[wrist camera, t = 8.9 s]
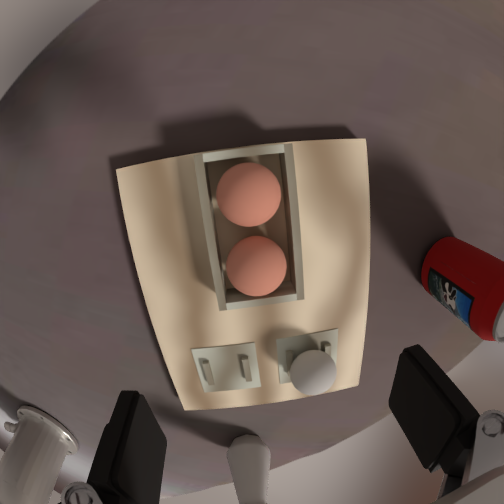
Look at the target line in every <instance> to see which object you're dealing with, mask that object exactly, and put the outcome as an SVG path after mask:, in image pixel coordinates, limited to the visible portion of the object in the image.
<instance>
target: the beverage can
mask: <svg viewBox="0 0 504 504" xmlns="http://www.w3.org/2000/svg"><path fill="white" fill-rule="evenodd" d="M421 279H422V284H423V286H424V288H425V290H426V291H427V292H428V293H429V294H430V295H432V296H433V297H434V298H435V299H436V300H437V301H439V302H440V303H441V304H442V305H443V306H444V307H446V308H447V309H448V310H449V311H450V312H451V313H453V314H454V315H455V316H456V317H457V318H458V319H460V320H461V321H462V322H463V323H464V324H465V325H467V326H468V327H469V328H470V329H471V330H472V331H473V332H475V333H476V334H477V335H478V336H479V337H480V338H481V339H483V340H488V341H497V342H498V343H503V342H504V262H503V261H501V260H500V259H498V258H496V257H494V256H492V255H490V254H488V253H486V252H484V251H482V250H480V249H478V248H476V247H474V246H472V245H470V244H468V243H466V242H464V241H461V240H459V239H457V238H455V237H445V238H442V239H440V240H439V241H437V242H436V243H435V244H434V245H433V246H432V247H431V249H430V250H429V252H428V253H427V255H426V257H425V260H424V262H423V266H422V272H421Z"/></svg>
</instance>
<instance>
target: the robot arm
mask: <svg viewBox="0 0 504 504" xmlns="http://www.w3.org/2000/svg"><path fill="white" fill-rule="evenodd" d="M389 407H390V409H391V411H392V413H393V414H394V416H395V418H396V419H397V421H398V423H399V425H400V426H401V428H402V430H403V432H404V433H405V435H406V437H407V439H408V440H409V442H410V444H411V446H412V447H413V449H414V451H415V453H416V455H417V456H418V458H419V460H420V462H421V463H422V465H423V467H424V468H425V469H429V471H430V473H432V472H434V471H436V470H438V469H440V468H442V469H443V471H444V473H445V474H444V477H443V481H442V484H441V488H440V491H439V494H438V497H437V500H436V501H434V502H432V503H430V504H504V413H502V412H501V411H498V410H488V411H486V412H484V413H483V414H481V416H480V415H479V413H478V412H477V410H476V409H475V408H474V407H473V406H472V404H471V403H470V402H469V401H468V399H467V398H466V397H465V396H464V395H463V394H462V392H461V391H460V390H459V389H458V388H457V386H456V385H455V384H454V383H453V382H452V381H451V379H450V378H449V377H448V376H447V375H446V374H445V373H444V371H443V370H442V369H441V368H440V367H439V366H438V365H437V363H436V362H435V361H434V360H433V359H432V358H431V357H430V356H429V354H428V353H427V352H426V351H425V350H424V349H423V348H422V347H421V346H420V345H418V344H417V345H414V346H411V347H408V348H405V349H404V350H403V353H401V354H400V356H399V361H398V365H397V370H396V374H395V378H394V382H393V386H392V390H391V394H390V397H389ZM17 417H18V419H19V422H18V423H16V424H13V423H10V422H5V423H4V427H5V429H6V430H7V431H9V432H12V433H14V436H13V437H12V439H11V441H10V443H9V445H8V447H7V449H6V451H5V453H4V455H3V456H2V458H1V460H0V504H48V503H49V500H50V497H51V494H52V491H53V488H54V485H55V483H56V480H57V477H58V475H59V472H60V469H61V467H62V464H63V462H64V459H65V457H66V455H73V454H76V453H77V450H78V447H79V446H78V443H77V441H76V439H75V438H74V436H73V435H72V434H71V433H70V432H69V431H68V430H67V429H66V428H65V427H64V426H63V425H62V424H60V423H59V422H58V421H56V420H55V419H54V418H52V417H51V416H49V415H48V414H46V413H44V412H42V411H40V410H38V409H36V408H34V407H31V406H21V407H20V408H19V409H18V411H17ZM166 447H167V440H166V437H165V435H164V433H163V431H162V430H161V428H160V426H159V424H158V422H157V420H156V419H155V417H154V415H153V413H152V411H151V409H150V407H149V405H148V403H147V401H146V399H145V397H144V396H143V395H142V394H139V392H138V391H121V393H120V395H119V397H118V400H117V403H116V405H115V408H114V411H113V414H112V416H111V419H110V422H109V423H108V424H107V425H106V426H105V428H104V431H103V433H102V436H101V439H100V442H99V445H98V448H97V451H96V454H95V457H94V460H93V463H92V466H91V470H90V473H89V476H88V479H87V483H84V482H73V483H70V484H69V485H67V486H66V487H65V488H64V489H63V491H62V494H61V502H60V503H58V504H159V499H160V491H161V483H162V475H163V468H164V461H165V454H166Z"/></svg>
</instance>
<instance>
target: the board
mask: <svg viewBox="0 0 504 504" xmlns="http://www.w3.org/2000/svg"><path fill="white" fill-rule="evenodd" d="M248 162H250V163H257V164H260V165H262V166H264V167H266V168H268V169H269V170H270V171H271V172H272V173H273V174H274V175H275V177H276V178H277V180H278V182H279V185H280V189H281V200H280V204H279V207H278V209H277V211H276V212H275V214H274V215H273V216H272V217H271V218H270V219H269V220H268V221H266V222H265V223H263V224H260V225H257V226H252V227H245V226H240V225H237V224H235V223H233V222H231V221H230V220H228V219H227V218H226V217H225V216H224V215H223V214H222V212H221V211H220V209H219V206H218V204H217V198H216V190H217V186H218V183H219V181H220V179H221V177H222V176H223V174H224V173H225V172H226V171H227V170H228V169H230V168H231V167H233V166H235V165H237V164H240V163H248ZM116 173H117V179H118V185H119V191H120V197H121V202H122V207H123V212H124V217H125V222H126V227H127V232H128V236H129V241H130V245H131V249H132V253H133V257H134V261H135V265H136V269H137V273H138V277H139V280H140V284H141V288H142V291H143V295H144V298H145V302H146V305H147V308H148V312H149V315H150V318H151V321H152V324H153V327H154V330H155V333H156V336H157V339H158V342H159V345H160V348H161V351H162V354H163V357H164V359H165V362H166V365H167V367H168V370H169V373H170V375H171V378H172V380H173V383H174V386H175V388H176V391H177V393H178V395H179V398H180V400H181V403H182V405H183V407H184V410H204V409H219V408H231V407H242V406H251V405H259V404H267V403H274V402H280V401H287V400H293V399H298V398H304V397H309V396H314V395H306V394H303V393H301V392H300V391H298V390H297V389H296V388H295V387H294V385H293V384H292V382H291V379H290V368H291V365H292V363H293V361H294V360H295V359H296V358H297V356H299V355H300V354H301V353H303V352H306V351H309V350H320V351H323V352H325V353H327V354H328V355H330V356H331V358H332V359H333V360H334V362H335V364H336V368H337V375H336V379H335V381H334V383H333V385H332V386H331V387H330V388H329V389H328V390H327V391H325V392H324V393H328V392H333V391H337V390H342V389H346V388H350V387H354V386H358V384H359V377H360V370H361V363H362V355H363V347H364V338H365V329H366V318H367V306H368V291H369V270H370V195H369V175H368V160H367V147H366V139H330V140H309V141H294V142H281V143H270V144H260V145H251V146H242V147H234V148H227V149H220V150H213V151H206V152H200V153H194V154H188V155H182V156H177V157H171V158H166V159H161V160H156V161H151V162H146V163H142V164H137V165H133V166H128V167H124V168H120V169H116ZM250 236H262V237H266V238H269V239H271V240H272V241H274V242H275V243H276V244H278V246H279V247H280V248H281V249H282V251H283V253H284V255H285V258H286V264H287V268H286V274H285V277H284V279H283V281H282V283H281V284H280V286H279V287H278V288H277V289H275V290H274V291H273V292H271V293H269V294H267V295H263V296H249V295H246V294H244V293H242V292H240V291H239V290H237V289H236V288H235V287H234V286H233V285H232V283H231V282H230V280H229V278H228V275H227V271H226V261H227V257H228V254H229V252H230V250H231V249H232V247H233V246H234V245H235V244H236V243H237V242H239V241H240V240H242V239H244V238H247V237H250ZM324 393H321V394H324ZM318 395H319V394H318Z"/></svg>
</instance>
